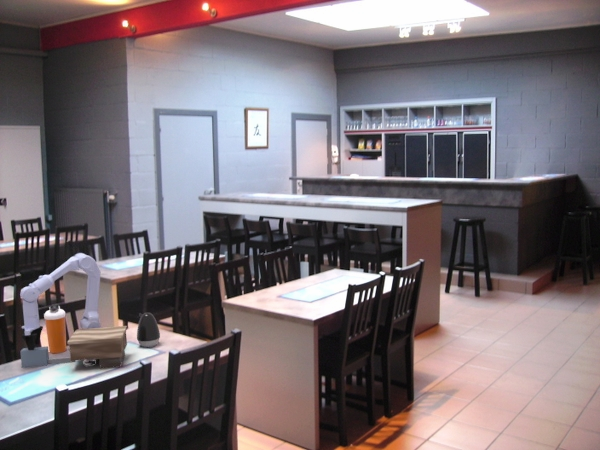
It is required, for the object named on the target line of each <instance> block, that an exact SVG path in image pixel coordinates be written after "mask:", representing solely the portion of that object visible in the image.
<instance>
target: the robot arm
mask: <svg viewBox="0 0 600 450" xmlns="http://www.w3.org/2000/svg"><path fill="white" fill-rule="evenodd" d="M80 269H81V270H82V271H83V273H85V274H86V275H87V281H86V296H85V307H84V312H83V313H82V318H81V320H80V321H79V325H80V329H91V328H102V327H101V323H100V316H99V312H98V311H99V310H98V308H99V298H100V297H99V296H100V284H101V269H100V267H99V266H98V264H97V261H96V260H95V259H94V258H93V257H92V256H90V255H87V254H85V253H83V252H77V253H76V254H74V255H73V256H71V257H70V258H68V259H67V261H65V262H63V263H62V264H61V265H60V266H59V267H57V268H56V269H55V270H53V271H52V272H51V273H50V274H44V275H39V276H38V279H37V280H35V281H33V282H32V283H29V284H28V286H25V287H23V288H22V289H21V291H20V294H19V295H20V298H21V299H22V312H23V323H24V325H22V326H21V329H22V330H23V329H24V333H22V334H21V338H22V339H23V341H24V343H25V345H26V348H28V350H34V348H35V347H36V346H35V345H40V342H41V334H42V331H43V328H44V326H42V325H40V315H39V314H40V313H39V303H38V299H39V296H40V295H42V294H44V293H45V292H46V291H47V290H49V289H51V288H52V287H53V286H54V284H55V283H54V282H55V281H56V280H58V279H60V278H61V277H62V276H65V275H66V274H67V273H69V272H70V271H79V270H80Z"/></svg>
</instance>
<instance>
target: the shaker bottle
mask: <svg viewBox="0 0 600 450" xmlns="http://www.w3.org/2000/svg"><path fill="white" fill-rule="evenodd" d="M48 308H49V310H46V311H45V313H43V317H44V318H43V319H44V321H45V328H46V329H45V330H46V335H47V336H46V337H47V343H48V352H49V354H60V353H64V352H66V351H67V332H66V311H65V310H64V309H63V308H61V306H60V305H52V306H51V305H50V306H49V307H48Z"/></svg>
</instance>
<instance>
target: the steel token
mask: <svg viewBox="0 0 600 450" xmlns="http://www.w3.org/2000/svg"><path fill="white" fill-rule="evenodd" d="M96 360H97V359H89V360H82V366H85V367H89V366H91V367H92V366H94V365H96Z"/></svg>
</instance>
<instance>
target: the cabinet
mask: <svg viewBox="0 0 600 450" xmlns="http://www.w3.org/2000/svg"><path fill="white" fill-rule="evenodd" d="M127 330H128V325H122V326H109V327H106V326H105V327H100V328H91V329H82V328H80V329H78V328H77V329H76V330H75V331H74V332H73V334H72V335H71V336H70V338H69V339H68V340H67V341H66V344H67V346H68V345H69V357H70V359H71V361H84V360H89V359H95V360H99V361H98V362H99V369H112V368H120V367H122V364H123V361H124V359H125V356H126V355H125V354H126V352H125V351H126V348H127V346H128V342H127V340H128V339H127Z"/></svg>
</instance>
